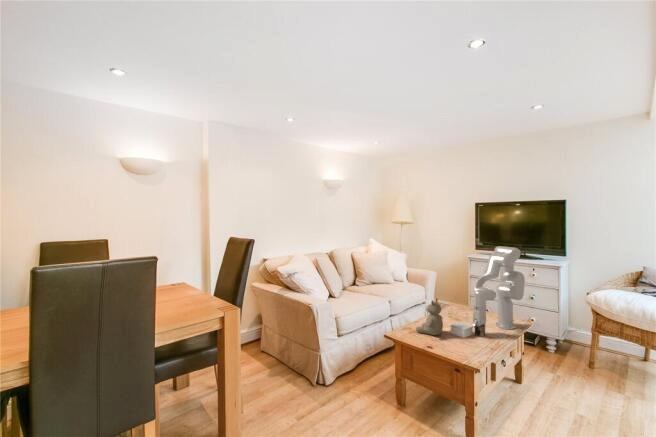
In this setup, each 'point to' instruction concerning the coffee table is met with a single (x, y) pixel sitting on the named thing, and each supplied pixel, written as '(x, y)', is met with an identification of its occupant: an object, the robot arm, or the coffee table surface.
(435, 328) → the grey cat statue
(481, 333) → the walnut block
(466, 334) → the pale grey box
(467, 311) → the coffee table surface
